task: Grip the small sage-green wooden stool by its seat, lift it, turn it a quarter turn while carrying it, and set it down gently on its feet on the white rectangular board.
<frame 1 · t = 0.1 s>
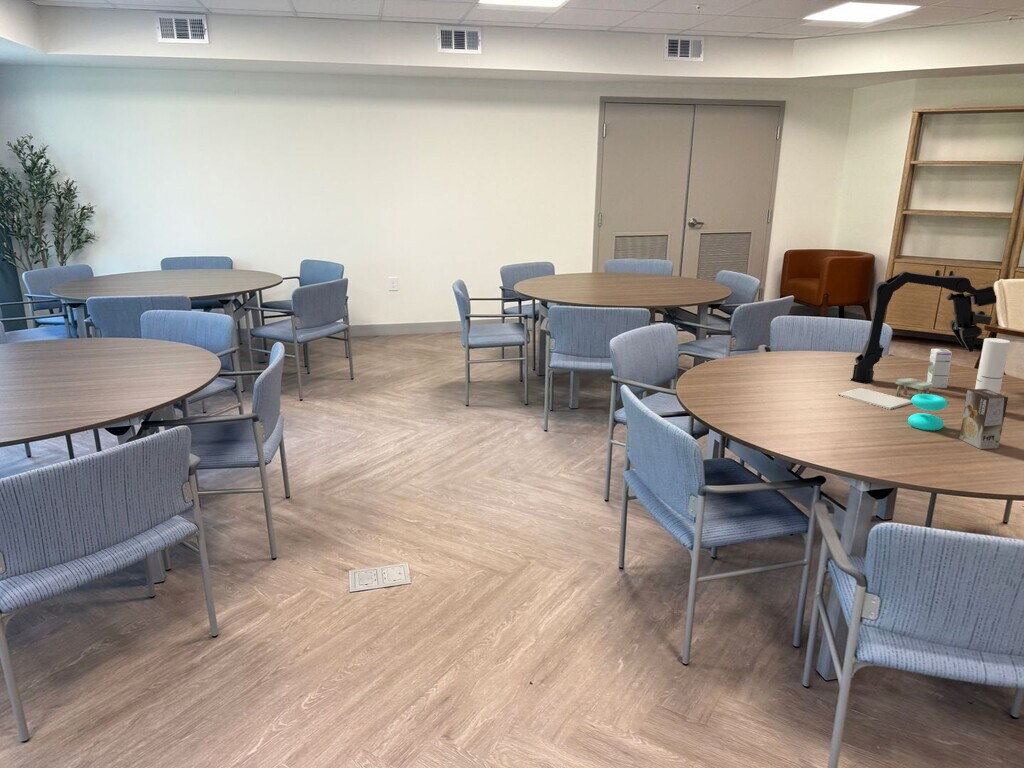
hand: (967, 349, 256), 15 cm above the table, tool pointing down, fingers open, 9 cm apart
white rectangular board: (874, 399, 248), on the table
donuts: (924, 427, 220), on the table
coffee box: (978, 444, 205), on the table
cylindrical container: (983, 410, 234), on the table
syrup box: (935, 386, 263), on the table
stool: (911, 397, 250), on the table
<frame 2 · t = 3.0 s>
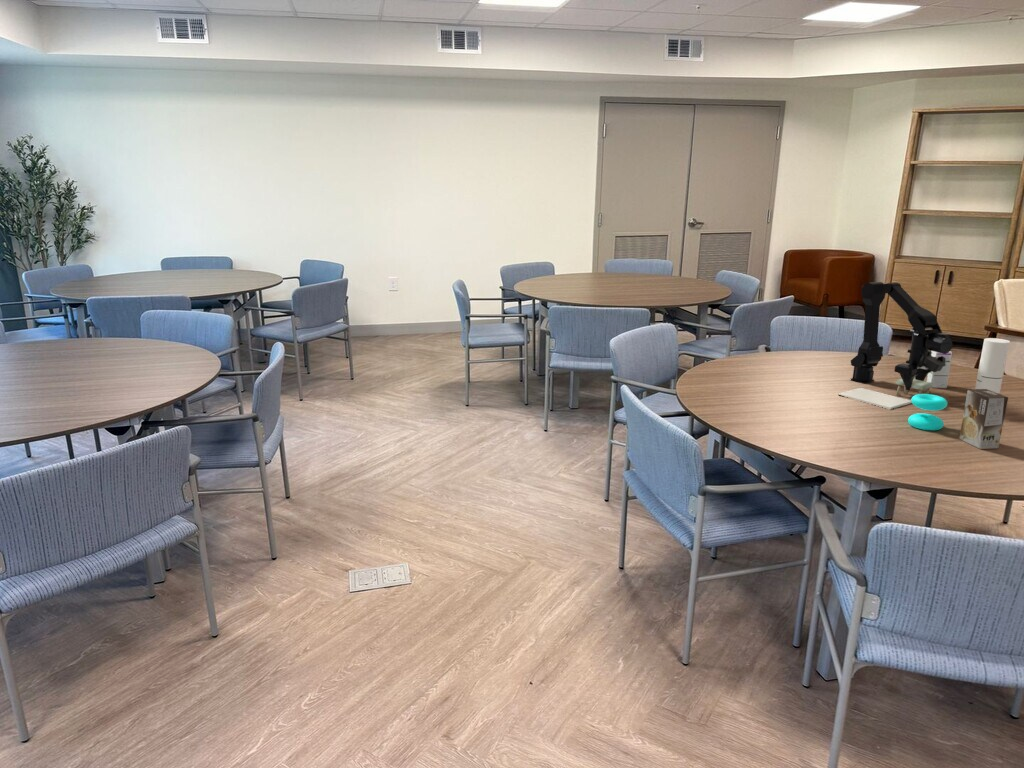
hand: (913, 388, 249), 3 cm above the table, tool pointing down, fingers closed on stool, 6 cm apart
stool: (912, 397, 250), on the table, touching gripper
everything else where it was.
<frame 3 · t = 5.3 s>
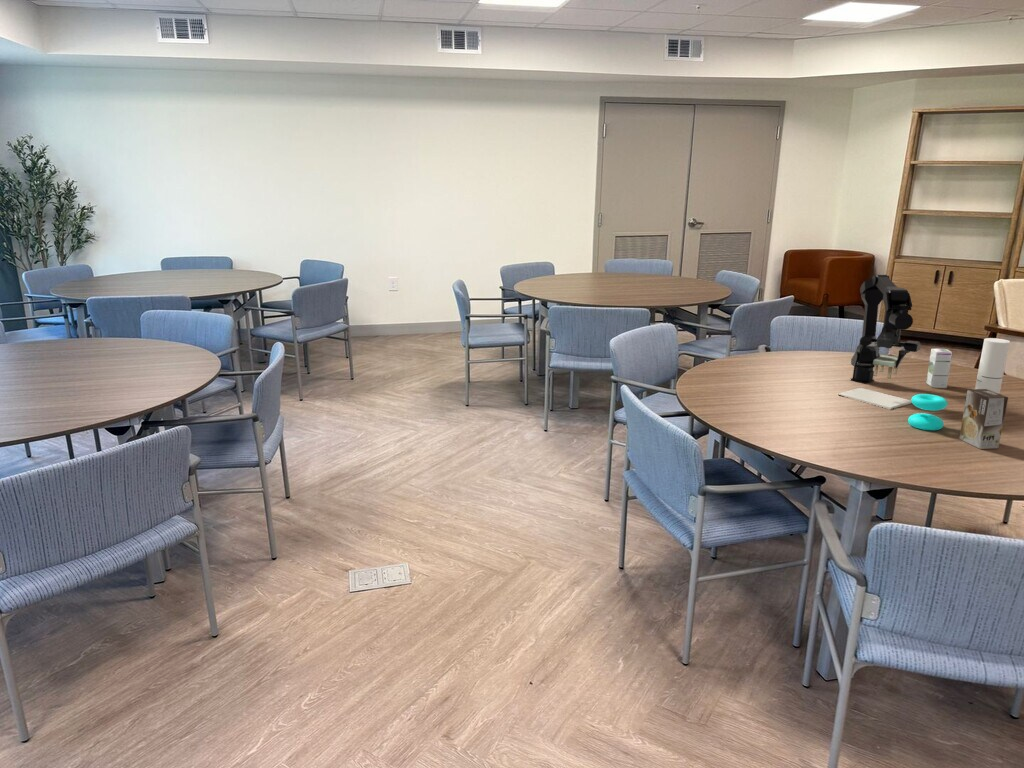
hand: (886, 366, 246), 12 cm above the table, tool pointing down, fingers closed on stool, 6 cm apart
stool: (885, 374, 247), point 9 cm above the table, touching gripper
everything else where it was.
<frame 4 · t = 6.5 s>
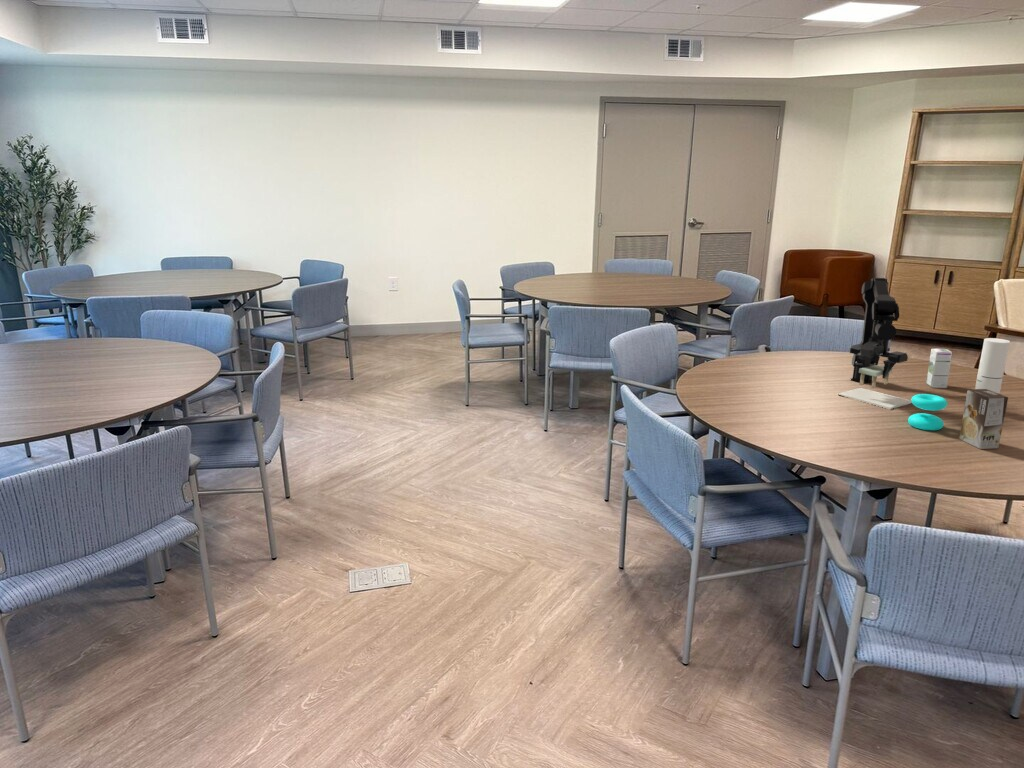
hand: (874, 375, 247), 9 cm above the table, tool pointing down, fingers closed on stool, 6 cm apart
stool: (873, 384, 248), point 5 cm above the table, touching gripper
everything else where it was.
when the fingers open (5 cm above the table, at t = 7.7 s): stool drops 1 cm, resting on white rectangular board.
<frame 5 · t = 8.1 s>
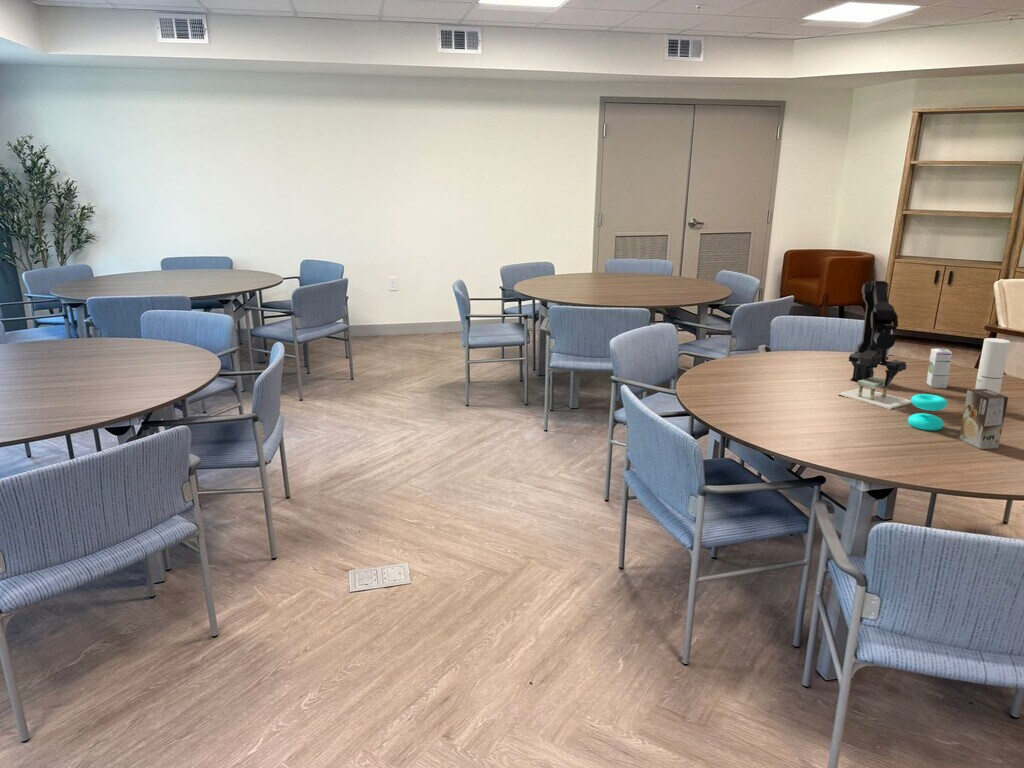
hand: (873, 384, 247), 5 cm above the table, tool pointing down, fingers open, 9 cm apart
stool: (871, 396, 249), point 1 cm above the table, touching white rectangular board
everything else where it was.
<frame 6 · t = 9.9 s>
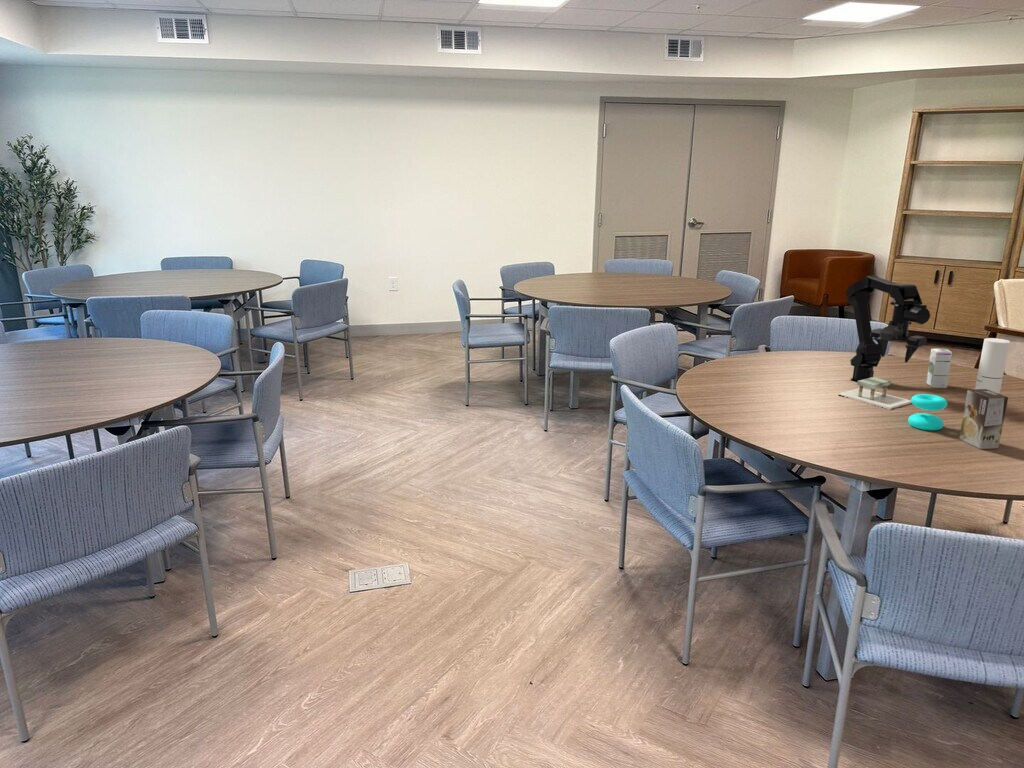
hand: (894, 359, 253), 13 cm above the table, tool pointing down, fingers open, 9 cm apart
nothing on the table moved.
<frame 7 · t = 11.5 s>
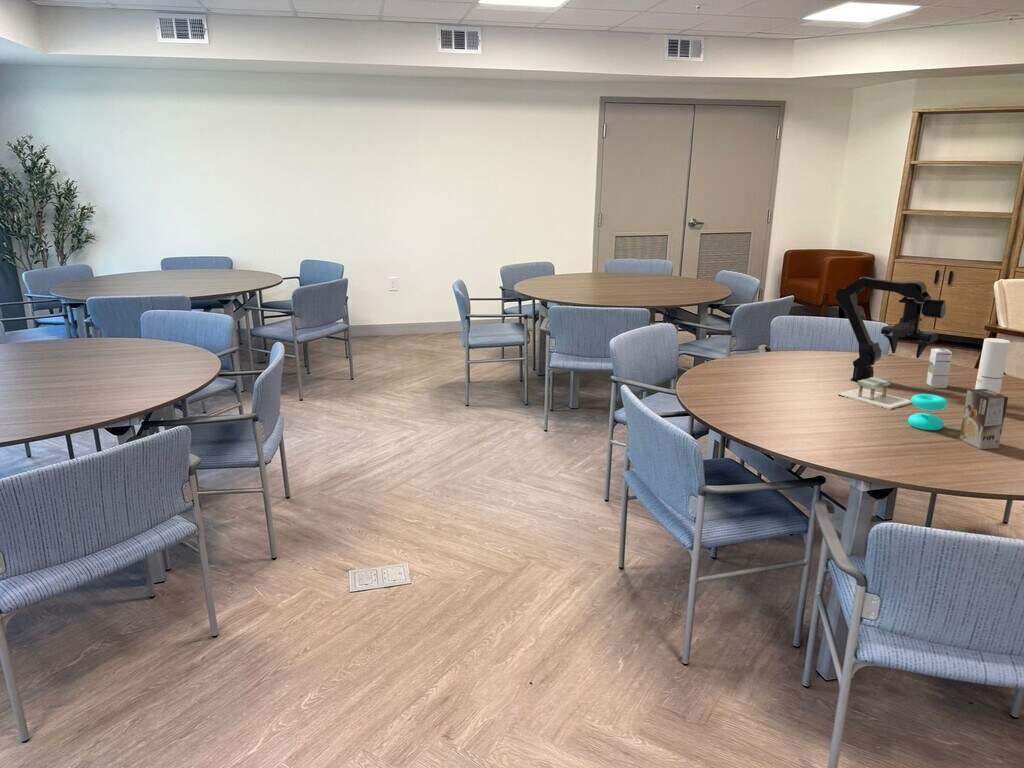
hand: (905, 355, 258), 13 cm above the table, tool pointing down, fingers open, 9 cm apart
nothing on the table moved.
at the end: stool inside the target area (0.0 cm from its centre), point 0.8 cm above the table; stool tilted 0°; the gripper is holding nothing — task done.
